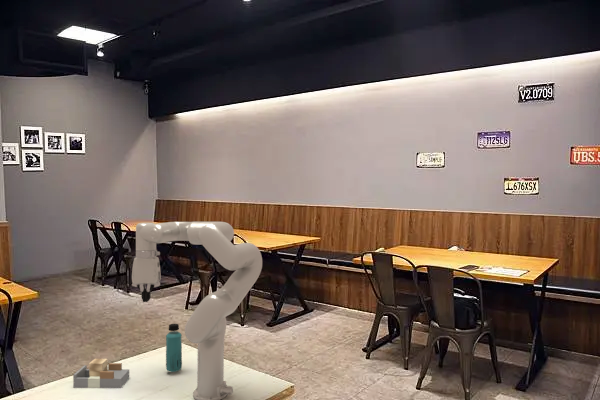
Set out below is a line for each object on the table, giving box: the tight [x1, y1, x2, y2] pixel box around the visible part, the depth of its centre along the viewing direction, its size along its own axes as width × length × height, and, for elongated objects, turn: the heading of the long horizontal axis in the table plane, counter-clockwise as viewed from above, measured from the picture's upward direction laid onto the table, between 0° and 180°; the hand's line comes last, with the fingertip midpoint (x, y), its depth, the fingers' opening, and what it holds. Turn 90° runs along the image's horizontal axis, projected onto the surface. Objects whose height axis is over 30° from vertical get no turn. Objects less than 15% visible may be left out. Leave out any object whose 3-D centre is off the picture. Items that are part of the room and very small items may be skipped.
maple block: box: [88, 358, 109, 376], centre depth 181 cm, size 5×5×5 cm
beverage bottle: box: [165, 323, 183, 373], centre depth 192 cm, size 6×7×20 cm
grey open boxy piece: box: [72, 362, 130, 389], centre depth 181 cm, size 18×9×6 cm, turn 91°
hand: (146, 301), depth 181 cm, fingers closed
